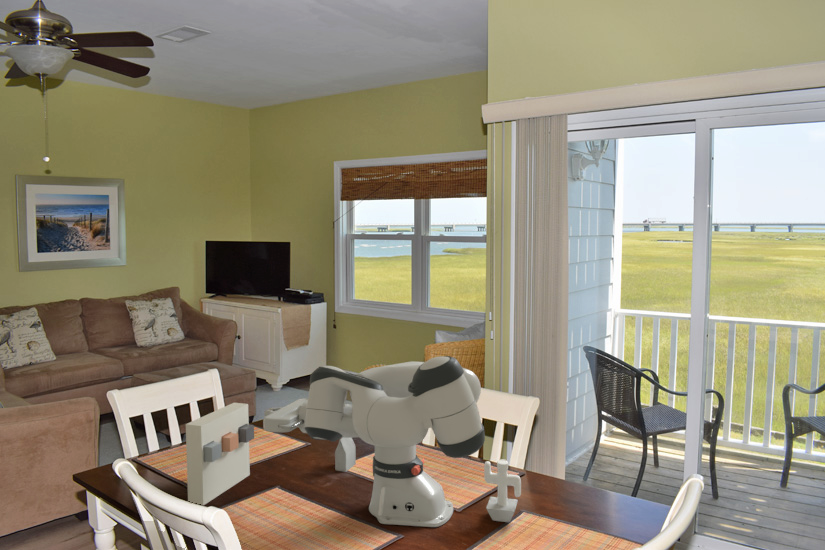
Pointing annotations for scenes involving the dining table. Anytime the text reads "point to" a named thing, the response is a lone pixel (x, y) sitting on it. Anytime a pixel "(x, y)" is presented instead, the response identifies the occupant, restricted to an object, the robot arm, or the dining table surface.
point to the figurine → (502, 491)
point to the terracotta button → (229, 442)
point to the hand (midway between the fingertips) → (267, 412)
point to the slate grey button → (212, 451)
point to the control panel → (233, 465)
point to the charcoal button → (246, 433)
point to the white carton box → (345, 454)
